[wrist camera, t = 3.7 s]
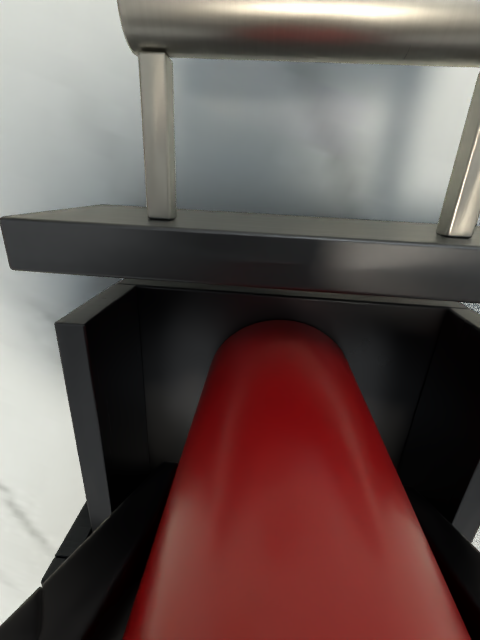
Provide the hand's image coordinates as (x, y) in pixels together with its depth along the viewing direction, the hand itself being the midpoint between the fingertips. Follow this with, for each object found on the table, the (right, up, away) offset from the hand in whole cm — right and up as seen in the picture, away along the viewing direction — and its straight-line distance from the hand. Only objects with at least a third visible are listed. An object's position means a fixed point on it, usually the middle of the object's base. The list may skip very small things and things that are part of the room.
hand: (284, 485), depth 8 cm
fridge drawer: (0, +3, +5) cm, 6 cm away
